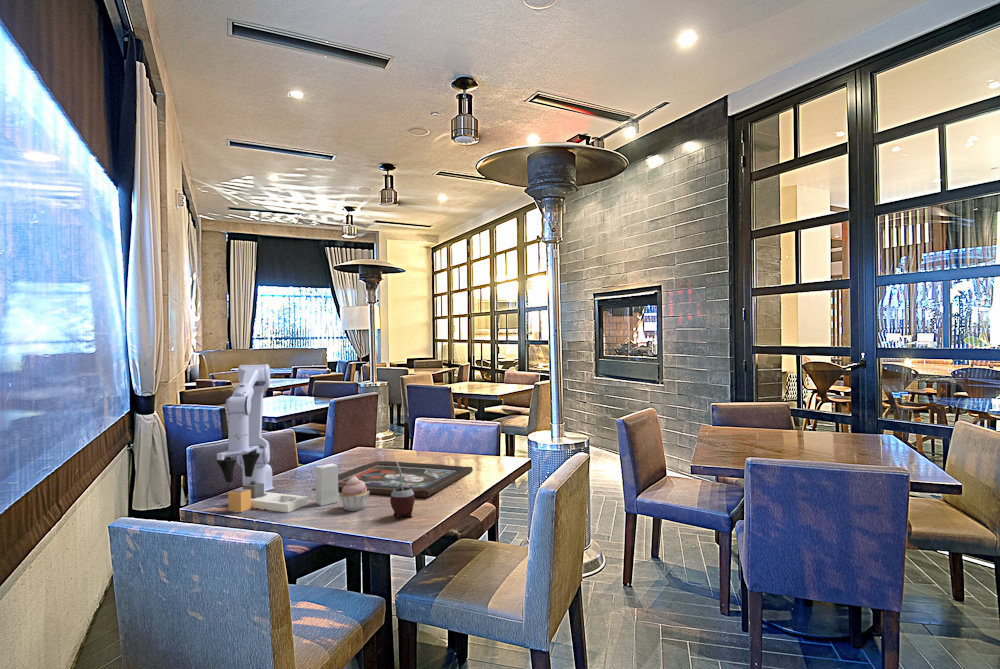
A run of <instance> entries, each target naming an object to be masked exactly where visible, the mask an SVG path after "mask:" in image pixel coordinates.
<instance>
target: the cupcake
mask: <svg viewBox="0 0 1000 669" xmlns="http://www.w3.org/2000/svg"><path fill="white" fill-rule="evenodd" d="M369 495H370V493H369V491H367V487H366V485H365V483H364V482H363V481H361V480H359V479H358V478H357V477H355V476H353V477H352V478H350V479H349V480H348V481H347V482H346V485H345V486H344V487H343V489H342V491H341V492H340V493H339V492H338V497H339V498H340V499H341V502H342V505H343V506H342V507H343V509H344V510H345V511H347V512H359V511H361V510H364V509H365V507H366V505H367V501H368V498H369Z"/></svg>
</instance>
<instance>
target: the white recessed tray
mask: <svg viewBox="0 0 1000 669" xmlns="http://www.w3.org/2000/svg"><path fill="white" fill-rule="evenodd" d="M307 505H309V496H305V495H297V494H296V495H295V494H285V493H277V492H268V491H265V492H264V495H263V496H260V497H258V498H255V499H251V509H256V508H259V509H258V510H264V509H267V511H274V512H282V513H290V512H292V511H295V510H297V509H300V508H302V507H304V506H307Z"/></svg>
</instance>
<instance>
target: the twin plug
mask: <svg viewBox="0 0 1000 669" xmlns="http://www.w3.org/2000/svg"><path fill="white" fill-rule="evenodd" d="M241 489H248V490H251V499H255V498H258V497H260V496H263V495H264V483H256V481H251V483H248V484H245V485H243V484H242V487H241Z"/></svg>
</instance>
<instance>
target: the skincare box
mask: <svg viewBox="0 0 1000 669" xmlns="http://www.w3.org/2000/svg"><path fill="white" fill-rule="evenodd" d="M338 467H339V465H337V464H335V463H332V462H331V463H327V464H321V465H315V467H314V474H315V475H314V476H315V478H314V480H315V481H314V482H315V483H314V484H315V503H316V504H317V505H319V506H326V505H327V506H328V505H331V504H335V503H339V491H338V475H339V468H338Z"/></svg>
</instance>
